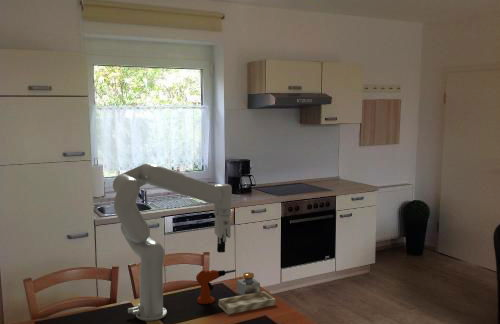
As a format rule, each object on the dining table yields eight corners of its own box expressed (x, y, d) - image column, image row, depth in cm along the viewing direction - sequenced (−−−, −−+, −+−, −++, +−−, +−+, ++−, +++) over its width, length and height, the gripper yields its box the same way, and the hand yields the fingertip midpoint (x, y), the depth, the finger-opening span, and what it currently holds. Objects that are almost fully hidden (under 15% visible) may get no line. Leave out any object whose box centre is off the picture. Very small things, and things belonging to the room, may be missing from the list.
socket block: (244, 298, 210) (244, 285, 209) (237, 292, 217) (237, 280, 216) (259, 295, 213) (260, 283, 213) (251, 289, 220) (252, 277, 220)
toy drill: (239, 297, 207) (236, 266, 205) (198, 306, 202) (194, 274, 200) (237, 293, 211) (233, 262, 209) (197, 302, 207) (193, 270, 205)
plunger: (245, 295, 212) (246, 276, 211) (241, 292, 216) (241, 273, 215) (255, 294, 214) (255, 275, 213) (250, 290, 218) (250, 271, 217)
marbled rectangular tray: (227, 314, 192) (228, 308, 192) (218, 305, 201) (218, 299, 201) (275, 304, 203) (275, 298, 202) (264, 296, 212) (264, 291, 211)
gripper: (235, 214, 198) (234, 256, 200) (225, 208, 212) (224, 247, 214) (219, 215, 196) (217, 257, 197) (209, 208, 210) (208, 248, 211)
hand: (221, 251), depth 205 cm, fingers closed
